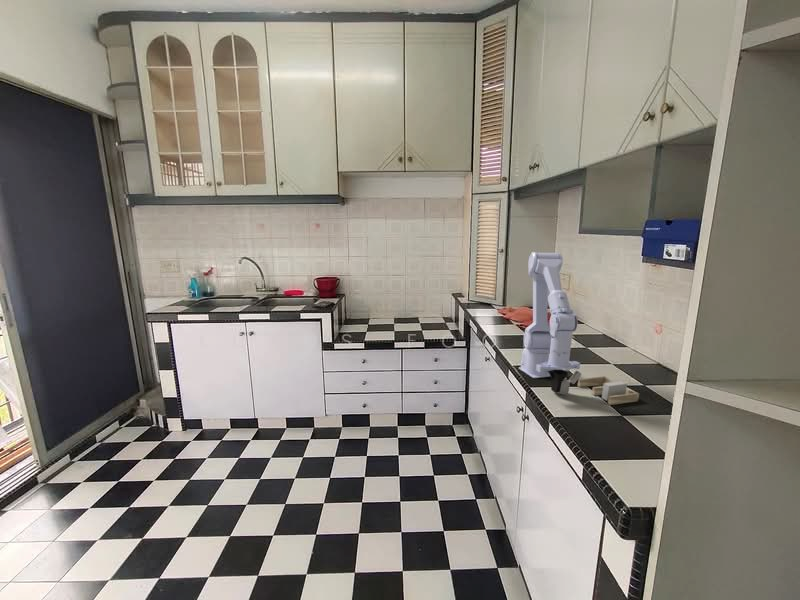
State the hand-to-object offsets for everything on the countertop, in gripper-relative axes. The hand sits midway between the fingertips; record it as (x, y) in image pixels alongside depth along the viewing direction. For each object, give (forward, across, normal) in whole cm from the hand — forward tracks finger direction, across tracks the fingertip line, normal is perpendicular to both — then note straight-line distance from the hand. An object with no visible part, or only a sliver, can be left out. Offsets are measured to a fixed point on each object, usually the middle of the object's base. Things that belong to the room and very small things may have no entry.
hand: (555, 391), depth 110 cm
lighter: (+2, +4, 0) cm, 4 cm away
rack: (+1, +17, -3) cm, 17 cm away
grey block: (+1, +17, -6) cm, 18 cm away
